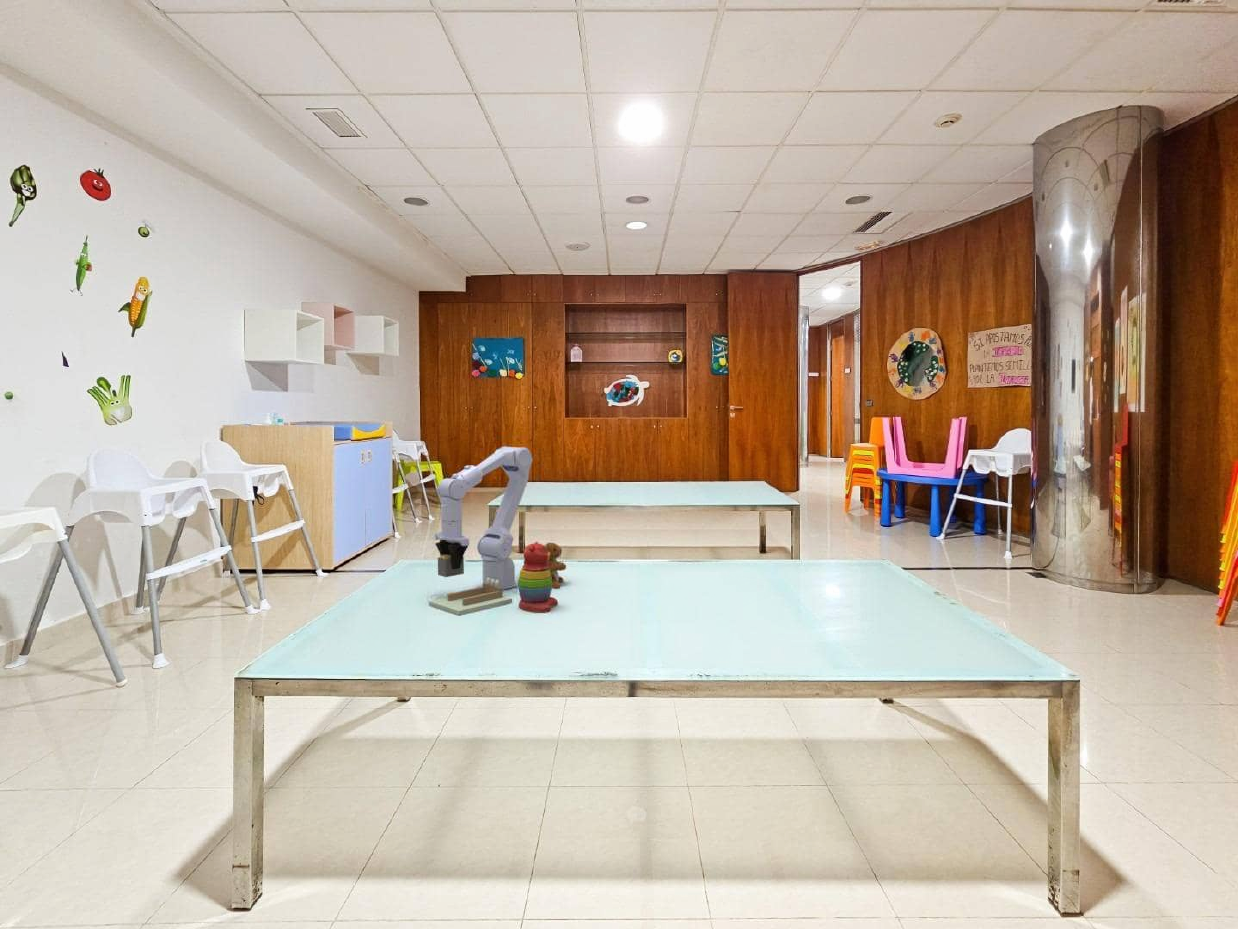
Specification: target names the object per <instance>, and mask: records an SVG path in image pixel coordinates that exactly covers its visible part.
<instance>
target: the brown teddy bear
mask: <svg viewBox="0 0 1238 929" xmlns="http://www.w3.org/2000/svg"><path fill="white" fill-rule="evenodd" d="M543 545H544V546H545V548H546V549H547V550H548V551H549V552H550V554H551V557H550V559H549V561H548V562H547V563H546V564H548V566H549V569H550V572H551V577H552V589H559V588H560V587H561V583H562V582H564V578H563V577H562V576H560V575H559V571H565V570H566V569H567V565H566V563H564V562H560V561H558V558H561V556H562V554H563V552H562V551H563V550H562V548H561V546H559V545H558V544H557V543H555V542H547V543H546V544H543ZM524 564H526V562H525V559H523V565H524Z"/></svg>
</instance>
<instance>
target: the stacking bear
mask: <svg viewBox="0 0 1238 929" xmlns="http://www.w3.org/2000/svg"><path fill="white" fill-rule="evenodd" d="M544 545H545V544H542V543H540V542H538V541H535V542H534V543H530V544H528V545H526V546H525V548H524V550H523V560H525V562H526V564H524V563H523V565H522V567H521V569H520V571H519V576H518V580H517V585H518V586H517V587H518V589H517V590H518V593H519V598H520V600H519V602H518V608H519V609H521V610H523V611H527V612H531V613H549V612H551V610H552V607H555V606H557V605H558V604H559V602H558V599H557V598H555V597H552V596H551V595H552V590H553V588H552V577H551V572H550V569H549V566H548V564H546V563H547V562H548V561H549V559H550V557H551V554H550V552H549V551H548V550H547V549H546V548H545V546H544Z"/></svg>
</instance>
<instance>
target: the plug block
mask: <svg viewBox="0 0 1238 929" xmlns="http://www.w3.org/2000/svg"><path fill="white" fill-rule="evenodd" d="M464 560H465V558H464V556H463V558H462V562H461V566H460V568H459V569H452V562H451V555H447V554H444V555H440V554H439V557H437V576H440V577H444V578H449V577H453V576H458V575H459V576H460V575H464V573H465V562H464Z"/></svg>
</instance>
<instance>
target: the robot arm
mask: <svg viewBox="0 0 1238 929" xmlns="http://www.w3.org/2000/svg"><path fill="white" fill-rule="evenodd" d="M533 460H534V459H533V457H532V454H531V452H530V450H529V449H528V448H527V447H524V446H523V447H517V446H516V447H514V446H506V445H504V446H503V445H502V447H500V448H498V449H496V450H495V452H493V453H492V454H491V455H489V456H488V457H487V458H485V459H484V460H482V461H481V462H480V463H478V464H477V465H476V466H475V465H468V464H467V465H465V466H463V470H461V471H459V472H457V473H453V474H452V476H451V477H450V478H443V479H442V480H441V481H440V482H439V484H438V485H437V486H438V487H437V488H436V493H437V495H438V496H439V499H440V500H439V502H440V503H441V504H440V507H441V508H440V509H441V511H440V513H441V514H440V515H441V517H440V518H441V524H440V525H441V528H440V529H441V532H434V540H435V541H438V542H435V546H436V549H437V550H438V552H439V556H440V555H444V554H447V555H451V562H452V569H459V568H460V566H461V562H462V558H463V557H464V555H465V553H466V551H467V549H468V548H469V546H470V538H468V537H466V536H464V535H463V529H462V528H463V507H462V506H463V499H464V498H465V496H466V494H467V492H468V491H469V490H471V489H472V488H474V487H475V486H477V485H478V484H480V483H481V482H482V481H483V476H485V475H487V474H489V473H490V472H492V471H494V470H495V469H497V468H500V467H501V468H502V470H503V471H504V472H505V474H506V475H507V477H508V483H507V485H506V488H505V490H504V493H503V497H502V498H501V502H500V504H499V506H498V510H497V513H496V515H495V518H494V520H493V524H492V526H490V527H488V528H487V529H486V530H484V533H483V534H482V536H481V538H479V540H478V541H477V546H476V547H477V548H476V549H477V552H478V554H479V555H480V558H481V559H482V584H480V585H477V586H476V588H479V587H483V583H487V578H490V584H491V579H494V585H495V580H499V587H503V590H508V589H513V588H517V584H515V583H516V582H515V580H516V579H515V578H516V576H515V575H516V574H515V572H516V566H515V563H514V560H513V559H512V558H511V557H510V556H511V554H512V551H513V541H514V536H513V535H512V534H511V532H510V531H511V529H512V526H513V523H514V521H515V517H516V515H517V511H518V509H519V506H520V503H521V500H522V498H523V495H524V492H525V489H526V488H527V485H528V481H529V476H530V468H531V466H532V463H533Z"/></svg>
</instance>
